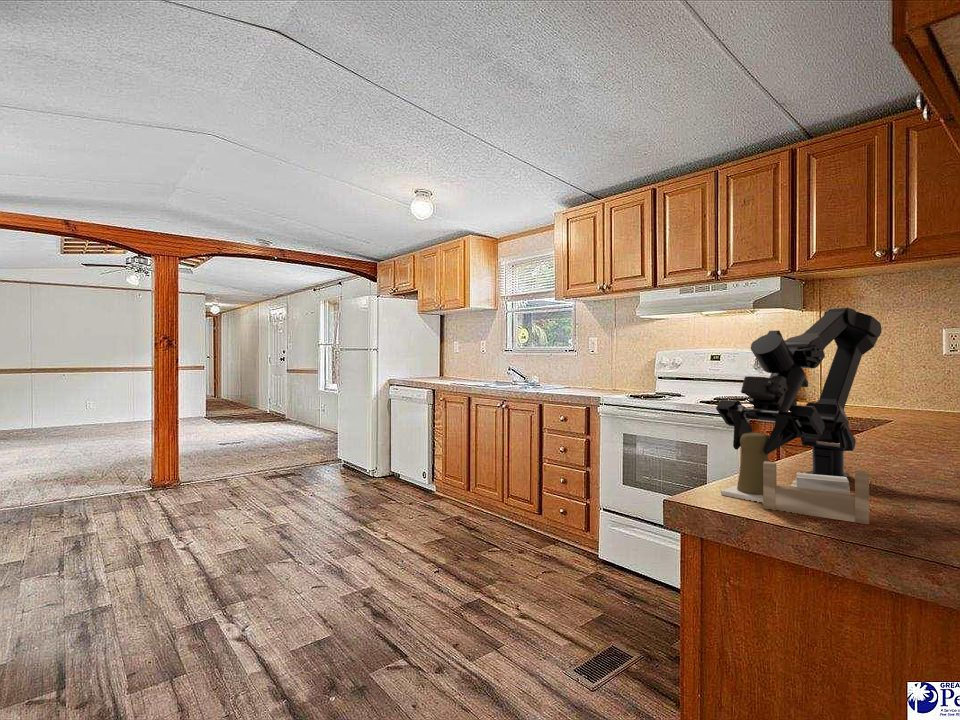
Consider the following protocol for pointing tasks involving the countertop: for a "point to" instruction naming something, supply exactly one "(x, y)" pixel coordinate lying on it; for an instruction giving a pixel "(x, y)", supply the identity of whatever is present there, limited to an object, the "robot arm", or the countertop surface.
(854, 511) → the birch rack
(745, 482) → the cork
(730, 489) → the ceramic pad
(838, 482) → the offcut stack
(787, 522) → the countertop surface
